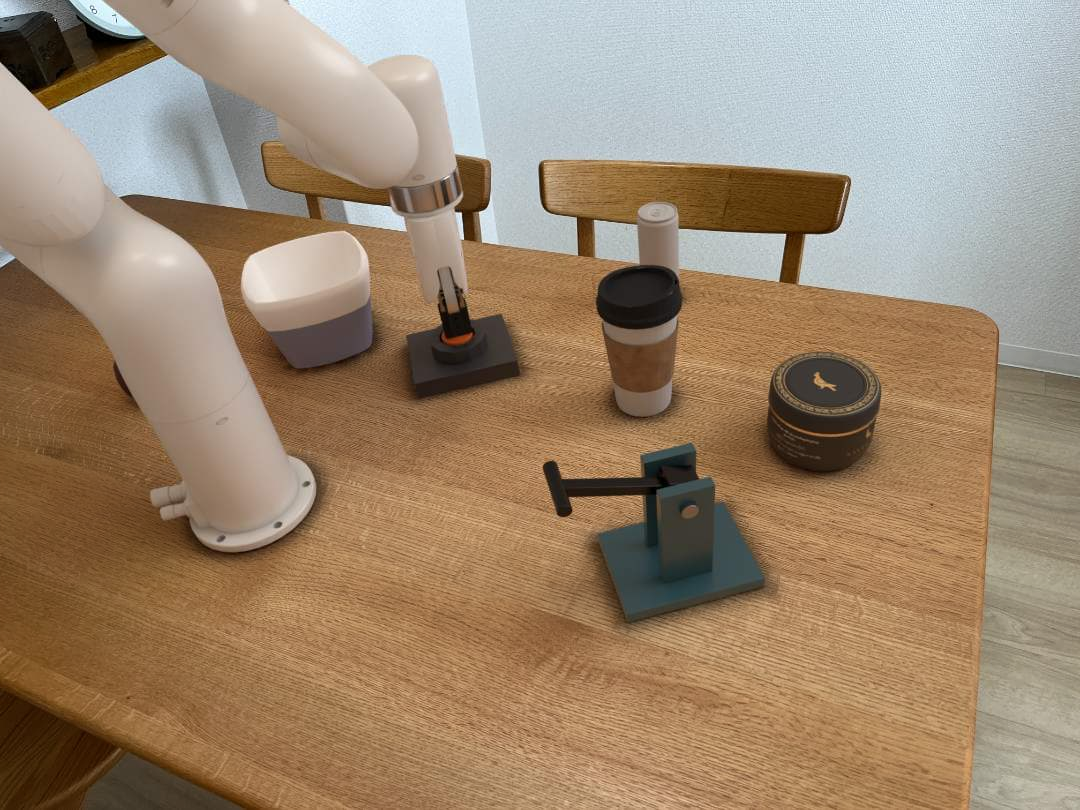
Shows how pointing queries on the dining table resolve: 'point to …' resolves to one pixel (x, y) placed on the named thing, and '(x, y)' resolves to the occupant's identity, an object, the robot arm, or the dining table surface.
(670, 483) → the lever
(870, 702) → the dining table surface
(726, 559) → the lever base
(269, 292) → the bowl
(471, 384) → the button block
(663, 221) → the beverage can
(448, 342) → the button
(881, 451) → the dining table surface
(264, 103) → the robot arm
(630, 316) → the coffee cup
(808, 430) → the jar
